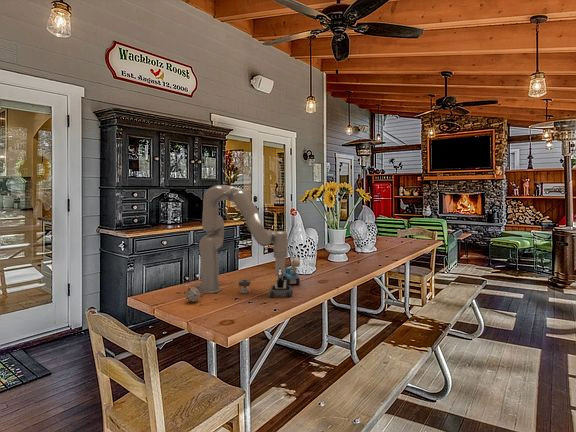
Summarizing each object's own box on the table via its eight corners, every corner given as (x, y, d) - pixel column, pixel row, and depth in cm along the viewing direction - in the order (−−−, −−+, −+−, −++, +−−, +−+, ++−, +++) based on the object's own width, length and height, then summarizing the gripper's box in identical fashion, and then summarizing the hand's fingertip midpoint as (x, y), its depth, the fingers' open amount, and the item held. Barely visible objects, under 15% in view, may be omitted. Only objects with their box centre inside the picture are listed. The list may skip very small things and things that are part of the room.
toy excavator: (289, 289, 213) (289, 259, 212) (281, 281, 229) (281, 254, 228) (303, 288, 216) (303, 258, 214) (295, 280, 232) (295, 253, 230)
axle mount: (239, 293, 205) (239, 286, 204) (241, 291, 210) (241, 284, 209) (248, 293, 205) (248, 286, 204) (249, 291, 210) (249, 284, 209)
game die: (191, 308, 193) (187, 290, 198) (206, 302, 193) (202, 284, 197) (183, 304, 185) (179, 286, 190) (199, 299, 185) (195, 280, 189)
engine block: (274, 293, 202) (274, 282, 202) (275, 291, 207) (275, 279, 207) (286, 293, 202) (286, 282, 201) (286, 291, 207) (286, 279, 206)
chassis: (268, 297, 198) (267, 291, 198) (269, 290, 211) (269, 284, 211) (292, 297, 198) (292, 291, 198) (292, 290, 211) (292, 284, 211)
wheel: (238, 286, 204) (238, 282, 204) (240, 283, 210) (240, 279, 209) (249, 286, 204) (249, 282, 204) (250, 283, 209) (250, 279, 209)
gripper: (274, 251, 211) (274, 280, 213) (272, 257, 194) (272, 289, 196) (287, 251, 211) (288, 280, 213) (287, 257, 194) (287, 289, 196)
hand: (280, 285), depth 204 cm, fingers open, 9 cm apart
